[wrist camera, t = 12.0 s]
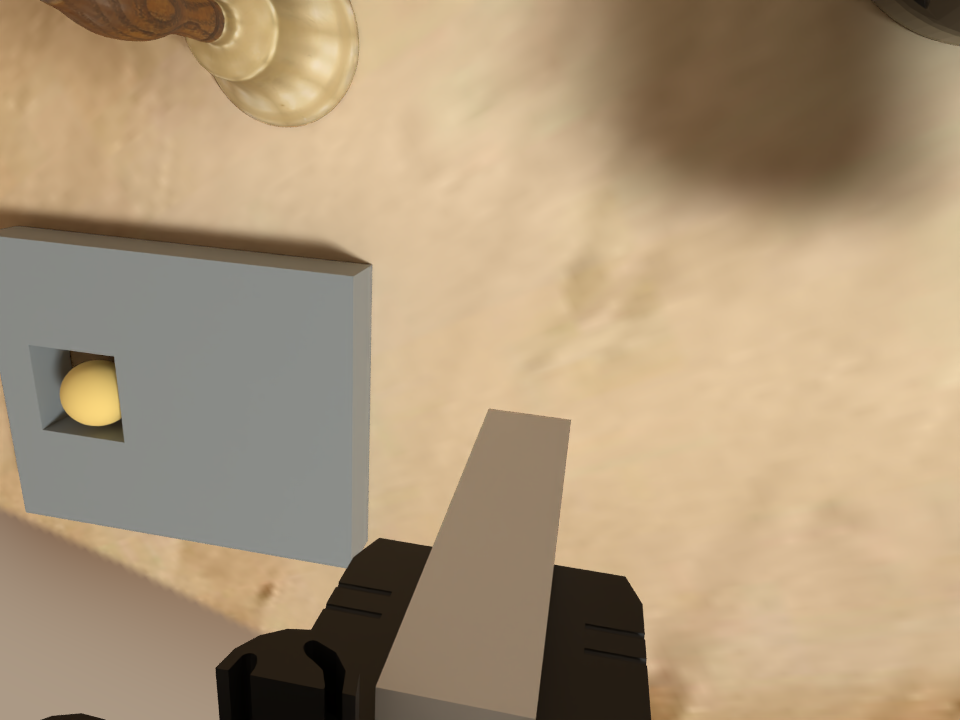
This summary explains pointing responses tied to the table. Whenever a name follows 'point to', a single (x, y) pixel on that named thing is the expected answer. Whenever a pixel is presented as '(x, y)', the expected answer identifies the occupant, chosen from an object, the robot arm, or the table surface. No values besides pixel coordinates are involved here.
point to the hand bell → (247, 47)
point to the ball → (91, 393)
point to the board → (193, 390)
